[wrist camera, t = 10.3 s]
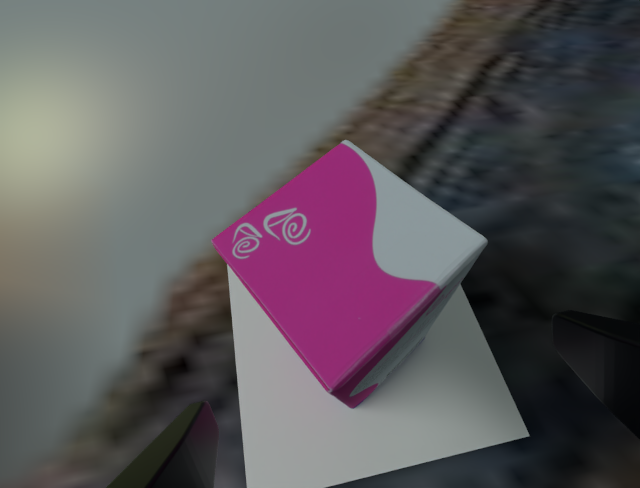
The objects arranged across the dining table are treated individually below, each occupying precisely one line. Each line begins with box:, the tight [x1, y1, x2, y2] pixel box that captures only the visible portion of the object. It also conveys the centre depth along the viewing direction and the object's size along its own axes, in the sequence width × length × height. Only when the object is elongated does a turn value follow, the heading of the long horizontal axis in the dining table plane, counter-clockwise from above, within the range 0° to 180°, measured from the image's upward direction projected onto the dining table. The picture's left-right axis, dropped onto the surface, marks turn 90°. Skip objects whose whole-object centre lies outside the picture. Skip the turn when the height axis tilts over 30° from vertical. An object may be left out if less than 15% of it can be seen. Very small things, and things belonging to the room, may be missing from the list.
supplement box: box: [211, 140, 487, 409], centre depth 14 cm, size 6×6×12 cm
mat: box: [227, 264, 530, 488], centre depth 20 cm, size 14×14×1 cm
